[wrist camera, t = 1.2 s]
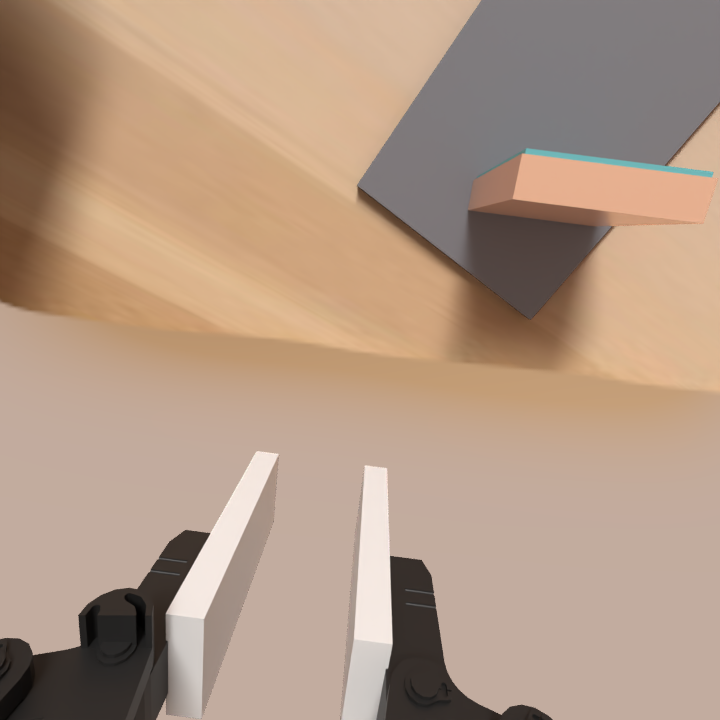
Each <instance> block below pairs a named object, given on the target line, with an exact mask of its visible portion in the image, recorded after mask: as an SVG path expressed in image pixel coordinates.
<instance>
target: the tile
mask: <svg viewBox="0 0 720 720" xmlns="http://www.w3.org/2000/svg"><path fill="white" fill-rule="evenodd" d="M712 175H713V172H709V171H701V170H693V169H686V168H678V167H670V166H662V165H654V164H646V163H638V162H630V161H623V160H615V159H607V158H599V157H591V156H583V155H575V154H568V153H560V152H552V151H544V150H536V149H528V148H526V149H524V150H522V151H521V152H519V153H517V154H515V155H514V156H512V157H510V158H508V159H507V160H505V161H503V162H501V163H500V164H498V165H496V166H494V167H493V168H491V169H489V170H487V171H486V172H484V173H482V174H480V175H479V176H477V179H475V180H473V185H472V190H471V196H470V201H469V207H468V210H470V211H477V212H485V213H493V214H501V215H509V216H517V217H524V218H532V219H540V220H548V221H556V222H563V223H571V224H579V225H587V226H630V225H667V224H703V223H704V220H705V217H706V214H707V211H708V208H709V205H710V202H711V199H712V196H713V193H714V190H715V187H716V184H717V181H718V178H712Z"/></svg>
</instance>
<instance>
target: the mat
mask: <svg viewBox="0 0 720 720" xmlns="http://www.w3.org/2000/svg"><path fill="white" fill-rule="evenodd" d="M719 102H720V0H481V2H480V3H479V5H478V6H477V8H476V9H475V11H474V12H473V14H472V15H471V17H470V18H469V20H468V21H467V23H466V24H465V26H464V27H463V29H462V30H461V32H460V33H459V35H458V36H457V38H456V39H455V40H454V42H453V43H452V45H451V46H450V48H449V49H448V51H447V52H446V54H445V55H444V57H443V58H442V60H441V61H440V63H439V64H438V66H437V67H436V69H435V70H434V72H433V73H432V75H431V76H430V78H429V79H428V81H427V82H426V84H425V85H424V87H423V88H422V90H421V91H420V92H419V94H418V95H417V97H416V98H415V100H414V101H413V103H412V104H411V106H410V107H409V109H408V110H407V112H406V113H405V115H404V116H403V118H402V119H401V121H400V122H399V124H398V125H397V127H396V128H395V130H394V131H393V133H392V134H391V136H390V137H389V139H388V140H387V141H386V143H385V144H384V146H383V147H382V149H381V150H380V152H379V153H378V155H377V156H376V158H375V159H374V161H373V162H372V164H371V165H370V167H369V168H368V170H367V171H366V173H365V174H364V176H363V177H362V179H361V180H360V182H359V183H358V185H357V186H358V187H359V188H360V189H362V190H363V191H364V192H365V193H367V194H368V195H369V196H371V197H372V198H373V199H375V200H376V201H377V202H378V203H380V204H381V205H382V206H384V207H385V208H386V209H387V210H389V211H390V212H391V213H393V214H394V215H395V216H396V217H398V218H399V219H400V220H402V221H403V222H404V223H405V224H407V225H408V226H409V227H411V228H412V229H413V230H414V231H416V232H417V233H418V234H420V235H421V236H422V237H424V238H425V239H426V240H427V241H429V242H430V243H431V244H433V245H434V246H435V247H436V248H438V249H439V250H440V251H442V252H443V253H444V254H445V255H447V256H448V257H449V258H451V259H452V260H453V261H454V262H456V263H457V264H458V265H460V266H461V267H462V268H463V269H465V270H466V271H467V272H469V273H470V274H471V275H473V276H474V277H475V278H476V279H478V280H479V281H480V282H482V283H483V284H484V285H485V286H487V287H488V288H489V289H491V290H492V291H493V292H494V293H496V294H497V295H498V296H500V297H501V298H502V299H503V300H505V301H506V302H507V303H509V304H510V305H511V306H513V307H514V308H515V309H516V310H518V311H519V312H520V313H522V314H523V315H524V316H525V317H527V318H528V319H530V320H531V319H532V318H533V317H534V316H535V314H536V313H537V312H538V311H539V310H540V309H541V308H542V306H543V305H544V304H545V303H546V302H547V301H548V299H549V298H550V297H551V296H552V295H553V294H554V293H555V291H556V290H557V289H558V288H559V287H560V286H561V284H562V283H563V282H564V281H565V280H566V279H567V278H568V276H569V275H570V274H571V273H572V272H573V271H574V269H575V268H576V267H577V266H578V265H579V264H580V263H581V261H582V260H583V259H584V258H585V257H586V256H587V254H588V253H589V252H590V251H591V250H592V249H593V248H594V246H595V245H596V244H597V243H598V242H599V241H600V239H601V238H602V237H603V236H604V235H605V234H606V233H607V231H608V230H609V229H610V228H611V227H612V226H587V225H579V224H571V223H563V222H556V221H548V220H540V219H532V218H524V217H517V216H509V215H501V214H493V213H485V212H477V211H470V210H468V207H469V201H470V196H471V190H472V185H473V180H475V179H477V176H479V175H480V174H482V173H484V172H486V171H487V170H489V169H491V168H493V167H494V166H496V165H498V164H500V163H501V162H503V161H505V160H507V159H508V158H510V157H512V156H514V155H515V154H517V153H519V152H521V151H522V150H524V149H526V148H528V149H536V150H544V151H552V152H560V153H568V154H575V155H583V156H591V157H599V158H607V159H615V160H623V161H630V162H638V163H646V164H654V165H662V166H665V164H666V163H667V162H668V161H669V160H670V159H671V158H672V156H673V155H674V154H675V153H676V152H677V151H678V149H679V148H680V147H681V146H682V145H683V144H684V143H685V141H686V140H687V139H688V138H689V137H690V136H691V135H692V133H693V132H694V131H695V130H696V129H697V128H698V126H699V125H700V124H701V123H702V122H703V121H704V120H705V118H706V117H707V116H708V115H709V114H710V113H711V111H712V110H713V109H714V108H715V107H716V106H717V105H718V103H719Z"/></svg>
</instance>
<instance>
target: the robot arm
mask: <svg viewBox="0 0 720 720" xmlns="http://www.w3.org/2000/svg"><path fill="white" fill-rule="evenodd" d="M278 457H279V454H275V453H267V452H260V451H257V452H256V453H255V455H254V457H253V459H252V460H251V462H250V464H249V466H248V468H247V469H246V471H245V473H244V475H243V476H242V478H241V480H240V482H239V484H238V485H237V488H236V489H235V491H234V493H233V494H232V496H231V498H230V500H229V502H228V503H227V505H226V507H225V509H224V511H223V513H222V514H221V516H220V518H219V519H218V521H217V523H216V525H215V527H214V528H213V530H212V532H211V533H204V532H197V531H189V530H185V531H183V532H182V533H181V534H179V535H178V536H177V537H175V538H174V539H173V540H171V541H170V542H169V543H168V545H167V546H166V548H165V549H164V551H163V552H162V554H161V555H160V557H159V560H157V561H156V562H155V564H154V565H153V567H152V569H151V571H150V572H149V573H148V574H147V576H146V577H145V579H144V580H143V581H142V583H141V585H140V586H139V587H138V589H132V588H125V589H117V590H113V591H111V592H108V593H106V594H103V595H101V596H99V597H98V598H96V599H95V600H93V601H92V602H90V603H89V604H88V605H87V606H86V607H85V608H84V609H83V610H82V612H81V613H80V614H79V615H78V616H79V628H80V641H81V646H79V647H76V648H72V649H68V650H63V651H56V652H51V653H44V654H38V655H33V653H32V650H31V648H30V646H29V644H28V643H26V642H25V641H23V640H21V639H15V638H14V639H13V638H4V639H0V720H156V718H157V716H158V714H159V712H160V710H161V707H162V705H163V703H164V701H165V699H166V714H167V715H174V716H182V717H189V718H197V719H202V716H203V714H204V711H205V708H206V706H207V703H208V700H209V697H210V695H211V692H212V689H213V686H214V684H215V681H216V678H217V675H218V673H219V670H220V667H221V664H222V661H223V659H224V656H225V653H226V651H227V648H228V645H229V642H230V640H231V637H232V634H233V631H234V629H235V626H236V623H237V620H238V618H239V615H240V612H241V610H242V607H243V604H244V601H245V599H246V596H247V593H248V591H249V588H250V585H251V582H252V580H253V577H254V574H255V571H256V568H257V566H258V563H259V560H260V558H261V555H262V552H263V549H264V547H265V544H266V541H267V538H268V536H269V533H270V530H271V528H272V525H273V522H274V510H275V497H276V484H277V471H278ZM433 593H434V591H433V585H432V577H431V574H430V573H429V571H428V570H427V568H426V567H425V565H424V563H423V562H422V560H417V559H409V558H402V557H394V556H390V549H389V517H388V486H387V468H381V467H374V466H366V465H365V467H364V474H363V482H362V489H361V495H360V502H359V509H358V517H357V524H356V531H355V542H354V554H353V567H352V579H351V591H350V604H349V616H348V629H347V641H346V654H345V666H344V678H343V691H342V703H341V716H340V720H552V719H551V718H550V717H549V716H548V715H546V714H544V713H543V712H541V711H539V710H538V709H536V708H533V707H529V706H525V705H517V706H512V707H509V708H508V709H507V710H506V711H505V712H504V713H503V714H502V715H500V714H498V713H496V712H494V711H492V710H490V709H488V708H485V707H483V706H481V705H479V704H477V703H476V702H474V701H472V700H471V699H469V698H467V697H466V696H465V695H464V694H463V693H462V692H461V691H460V690H459V689H458V688H457V687H456V686H455V684H454V683H453V682H452V680H451V678H450V677H449V675H448V673H447V670H446V666H445V663H444V658H443V650H442V644H441V637H440V630H439V624H438V617H437V611H436V604H435V598H434V595H433Z"/></svg>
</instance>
